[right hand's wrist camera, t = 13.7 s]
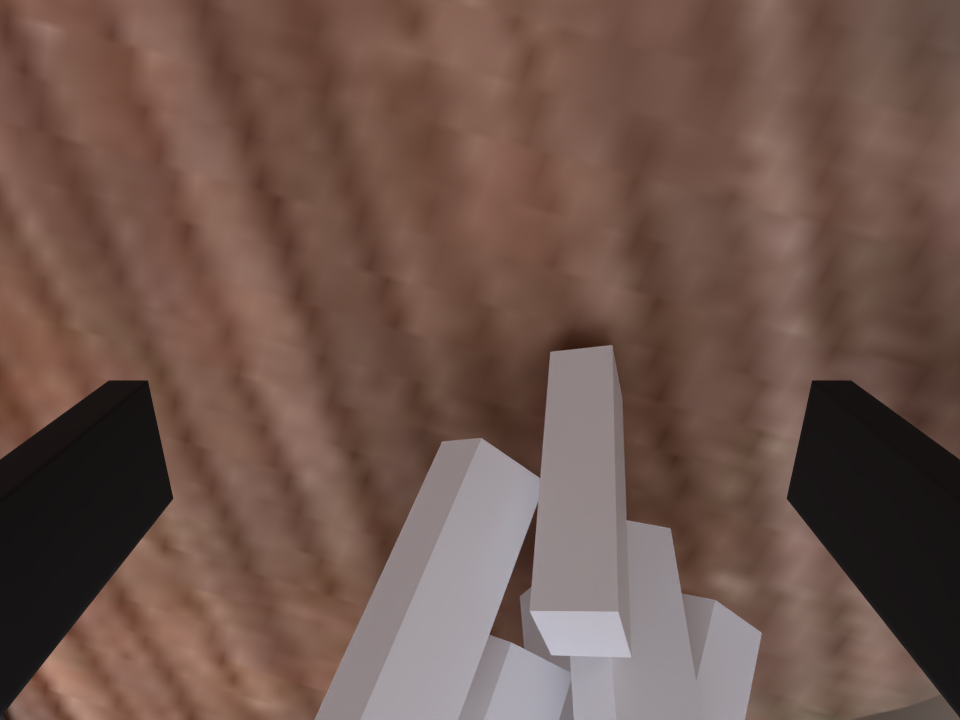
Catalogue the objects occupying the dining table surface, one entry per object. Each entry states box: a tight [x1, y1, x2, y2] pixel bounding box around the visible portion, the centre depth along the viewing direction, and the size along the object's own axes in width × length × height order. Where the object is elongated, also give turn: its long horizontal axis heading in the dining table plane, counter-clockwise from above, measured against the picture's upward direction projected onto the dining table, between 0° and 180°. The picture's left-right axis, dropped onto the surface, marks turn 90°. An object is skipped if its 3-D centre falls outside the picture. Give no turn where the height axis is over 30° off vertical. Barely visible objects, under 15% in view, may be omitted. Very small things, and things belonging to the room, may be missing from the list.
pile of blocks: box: [315, 345, 762, 720], centre depth 40 cm, size 35×30×35 cm
